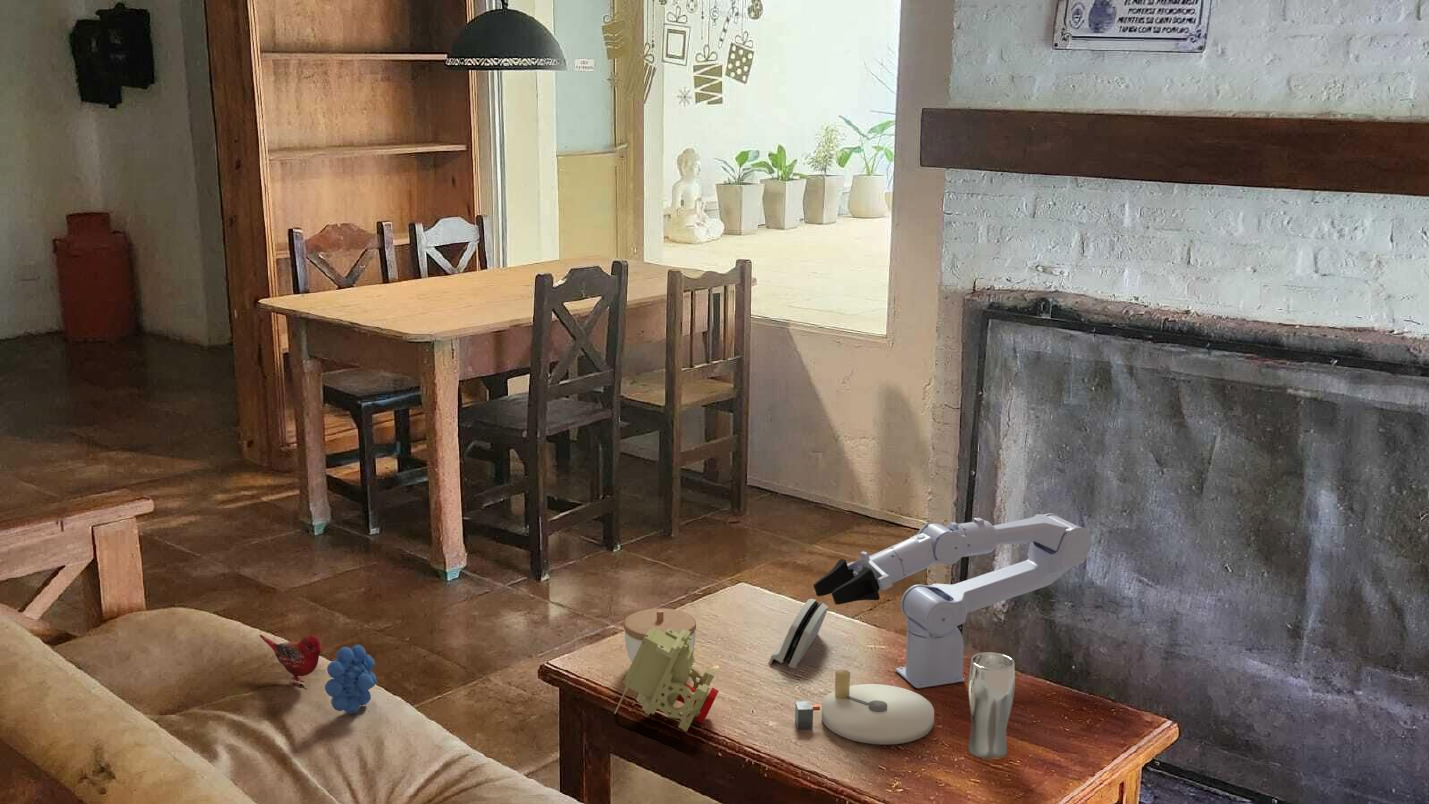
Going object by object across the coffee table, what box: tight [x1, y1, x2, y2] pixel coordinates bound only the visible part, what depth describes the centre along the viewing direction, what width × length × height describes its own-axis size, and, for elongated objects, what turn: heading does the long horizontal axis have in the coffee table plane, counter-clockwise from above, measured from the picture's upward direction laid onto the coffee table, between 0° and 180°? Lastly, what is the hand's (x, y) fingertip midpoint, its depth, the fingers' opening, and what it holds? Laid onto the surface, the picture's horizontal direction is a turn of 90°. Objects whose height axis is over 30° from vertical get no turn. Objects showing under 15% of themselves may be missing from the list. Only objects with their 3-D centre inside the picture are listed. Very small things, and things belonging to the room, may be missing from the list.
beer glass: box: [967, 651, 1016, 760], centre depth 205 cm, size 7×7×15 cm
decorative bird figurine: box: [259, 634, 323, 682], centre depth 229 cm, size 3×18×10 cm, turn 53°
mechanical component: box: [613, 628, 719, 732], centre depth 215 cm, size 8×17×20 cm, turn 78°
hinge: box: [767, 598, 829, 669], centre depth 243 cm, size 17×5×10 cm, turn 161°
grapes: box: [324, 644, 378, 715], centre depth 216 cm, size 12×7×12 cm, turn 157°
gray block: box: [794, 700, 821, 731], centre depth 215 cm, size 4×3×4 cm
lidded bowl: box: [623, 607, 697, 663], centre depth 234 cm, size 13×13×11 cm
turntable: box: [821, 669, 935, 745], centre depth 215 cm, size 18×18×6 cm
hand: (824, 594), depth 222 cm, fingers open, 7 cm apart
